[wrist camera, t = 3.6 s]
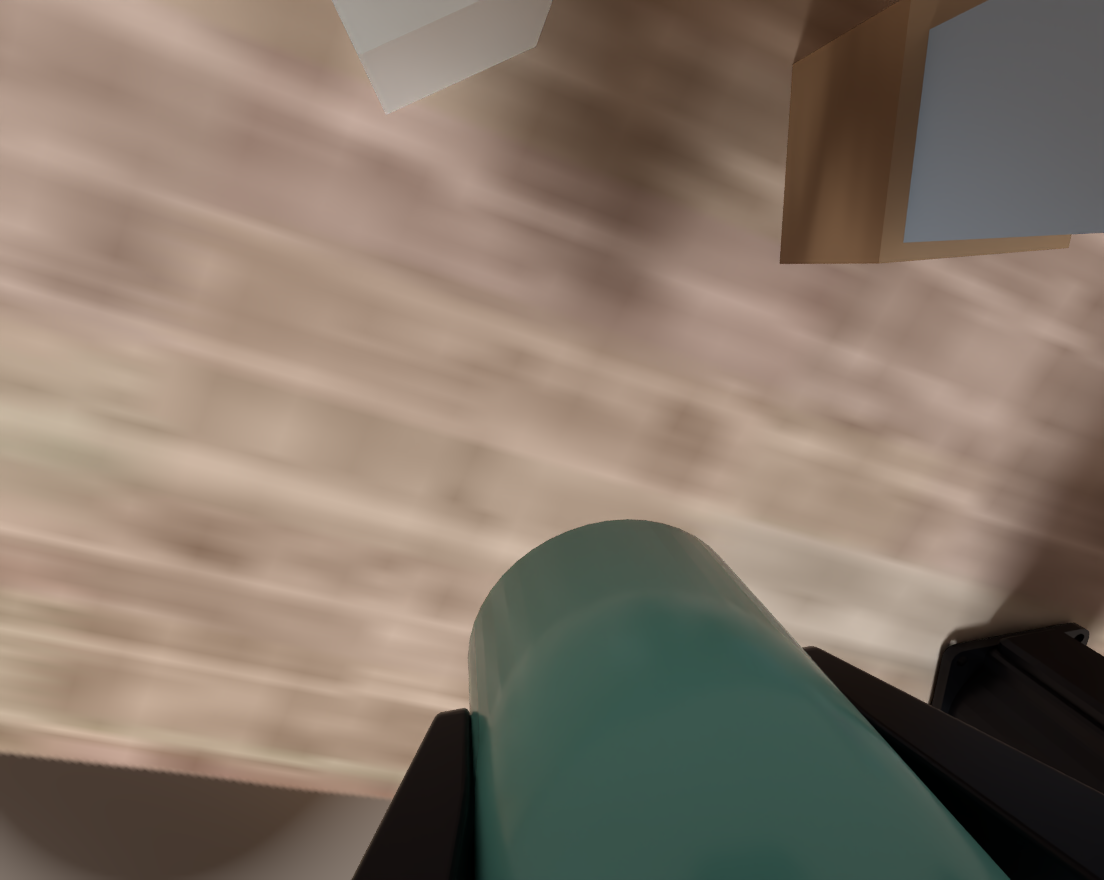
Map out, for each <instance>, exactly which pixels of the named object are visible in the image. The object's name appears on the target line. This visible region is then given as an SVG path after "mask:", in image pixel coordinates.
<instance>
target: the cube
mask: <svg viewBox="0 0 1104 880" xmlns="http://www.w3.org/2000/svg"><path fill="white" fill-rule="evenodd" d="M552 1H553V0H332V2H333V4H334V6H335V8H336V10H337V12H338V14H339V16H340V19H341V21H342V23H343V25H344V27H345V29H346V31H347V33H348V35H349V38H350V40H351V42H352V44H353V46H354V48H355V50H356V52H357V54H358V57H359V59H360V61H361V63H362V65H363V67H364V69H365V71H366V74H367V76H368V78H369V80H370V82H371V84H372V86H373V88H374V90H375V93H376V95H377V97H378V99H379V101H380V103H381V105H382V107H383V110H384V112H385V114H386V115H387V114H389V113H392V112H394V111H396V110H398V109H400V108H402V107H405V106H407V105H409V104H411V103H413V102H416V101H418V100H420V99H422V98H424V97H427V96H429V95H431V94H433V93H435V92H438V91H440V90H442V89H444V88H446V87H449V86H451V85H453V84H455V83H457V82H460V81H462V80H464V79H466V78H468V77H471V76H473V75H475V74H477V73H479V72H481V71H484V70H486V69H488V68H490V67H492V66H495V65H497V64H499V63H501V62H503V61H506V60H508V59H510V58H512V57H514V56H517V55H519V54H521V53H523V52H525V51H528V50H530V49H532V48H534V47H536V45H537V42H538V39H539V37H540V34H541V31H542V28H543V26H544V23H545V20H546V17H547V15H548V12H549V9H550V6H551V4H552Z"/></svg>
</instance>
